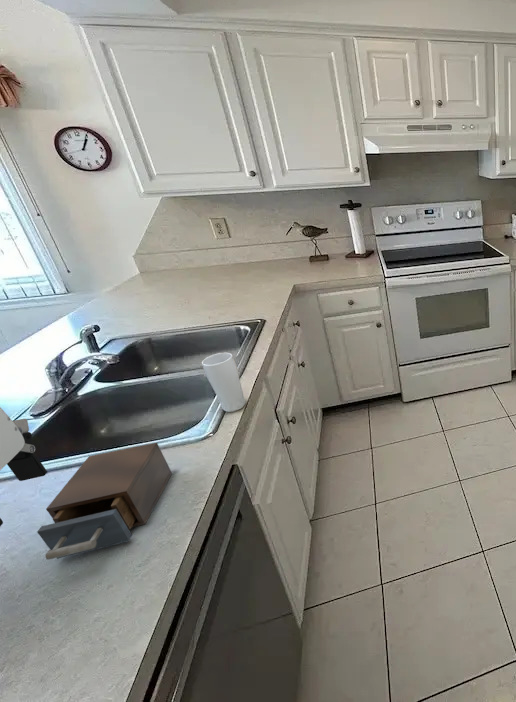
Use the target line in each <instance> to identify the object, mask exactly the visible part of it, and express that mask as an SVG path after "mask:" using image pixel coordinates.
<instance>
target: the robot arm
mask: <svg viewBox="0 0 516 702" xmlns="http://www.w3.org/2000/svg"><path fill="white" fill-rule="evenodd" d="M29 426H30V425H29V421H28V419H26V418H19V419H14V420H12V419H11V417H10V416H9V414H8V413H6V412H5V409H3V408H2V407H1V406H0V471H2V470H3V468H5V467H6V466H8V468H9V469H10V471H11V472H12V474H13V475H14V476H15V477H16V479H17V480H18V481H19V482H23V481H28V480H32V479H33V480H34V479H37V478H41V477H44V476H46V475H47V473H48V471H47V469H46V468H45V466H44V465H43V463H42V461H41V460H40V458H39V457H38V456H37V455H36V453H35V452H36V446H35V445H34V444H32V443H33V442H32V441H33V435H32V433H31V432H30V427H29ZM3 524H4V521H3V520H2V518H1V517H0V527H1V526H2V525H3Z"/></svg>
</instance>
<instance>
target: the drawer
mask: <svg viewBox="0 0 516 702" xmlns="http://www.w3.org/2000/svg"><path fill="white" fill-rule="evenodd" d="M135 520H136V516H135V515H134V513H133V511H132V510H131V508H130V506H129V504H128V503H127V501H126V499H125V498H124V496H123V495H122V496H118V497H114V498H109V499H105V500H100V501H96V502H91V503H87V504H82V505H78V506H74V507H69V508H65V509H60V510H59V512H58V513H57V514H56V515H55V517H54V518H52V521H53V523H49V524H44V525H41V526H40V527H39V529H38V530H37V531H36V533H37V534H38V535H39V537H40V538H41V539H42V541H43V543H45V545H46V546H47V548H48V549H49V550H47V552H46V553H45V560H47V561H49V560H54V559H57V560H59V559H62V558H67V557H71V556H75V555H78V554H83V553H87V552H91V551H94V550H98V549H99V550H100V549H103V548H107V547H110V546H115V545H118V544H122V543H126V542H129V541H130V540H131V539H132V536H133V534H132V533H131V531H130V530H131V529H132V528H133V527H132V525H133V524H134V522H135ZM131 527H132V528H131Z"/></svg>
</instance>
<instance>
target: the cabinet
mask: <svg viewBox="0 0 516 702" xmlns="http://www.w3.org/2000/svg"><path fill="white" fill-rule="evenodd" d="M172 475H173V472H172V470H171V468H170V466H169V464H168V462H167V460H166V458H165V455H164V454H163V452H162V450H161V448H160V446H159V443H158V442H153V443H149V444H148V443H147V444H143V445H137V446H133V447H128V448H123V449H118V450H113V451H108V452H103V453H98V454H93V455H89V456H88V457H87V458H86V459H85V461H84V462H83V463H82V464H81V465H80V467H79V468H78V469H77V471H76V472H75V473H74V474H73V475H72V477H70V479H69V480H68V481H67V483H66V484H65V485H64V486H63V487H62V489H60V490H59V493H58V494H57V495H56V496H55V497H54V498H53V499H52V501H51V502H50V503H49V505H47V507H46V508H45V510H46V512H47V513H48V514H49V516H50V517H51V518H52V519H53V518H54V517H55V515H56V514H57V513H58V512H59V510H60V509H65V508H69V507H74V506H78V505H82V504H87V503H91V502H96V501H100V500H105V499H109V498H114V497H118V496H122V495H123V496H124V498H125V499H126V501H127V503H128V504H129V506H130V508H131V510H132V511H133V513H134V515H135V516H136V520H135V522H134V524H133V525H132V527H131V529H132V528H136V527H139V526H144V525H146V524H147V522H148V520H149V518H150V517H151V514H152V513H153V511H154V509H155V506H156V505H157V503H158V501H159V499H160V498H161V496H162V493H163V492H164V490H165V488H166V486H167V484H168V482H169V480H170V478H171V476H172Z"/></svg>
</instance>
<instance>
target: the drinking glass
mask: <svg viewBox="0 0 516 702" xmlns="http://www.w3.org/2000/svg"><path fill="white" fill-rule="evenodd" d="M201 366H202V368H203V371H204V373H205V376H206V378H207V380H208V382H209V384H210V386H211V389H212V390H213V392H214V394H215V395H216V397H217V399H218V401H219V404H220V405H221V408H222V410H223V411H224V412H226V413H232V412H237V411H239V410H241V409H242V408H244V406H245V405H246V399H245V396H244V391H243V388H242V384H241V379H240V374H239V371H238V366H237V364H236V361H235V359H234V356H233V354H232V353H231V352H218V353H213V354H211V355H209V356H207V357H205V358H204V359H203V360H202V361H201Z"/></svg>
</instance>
